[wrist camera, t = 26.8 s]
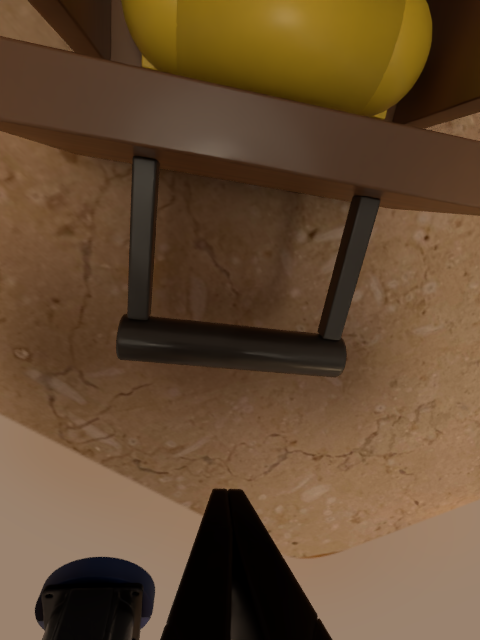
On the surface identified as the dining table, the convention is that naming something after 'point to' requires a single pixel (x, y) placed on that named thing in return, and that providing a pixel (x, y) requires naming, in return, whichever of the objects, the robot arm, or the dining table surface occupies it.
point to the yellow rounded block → (290, 47)
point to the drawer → (244, 160)
